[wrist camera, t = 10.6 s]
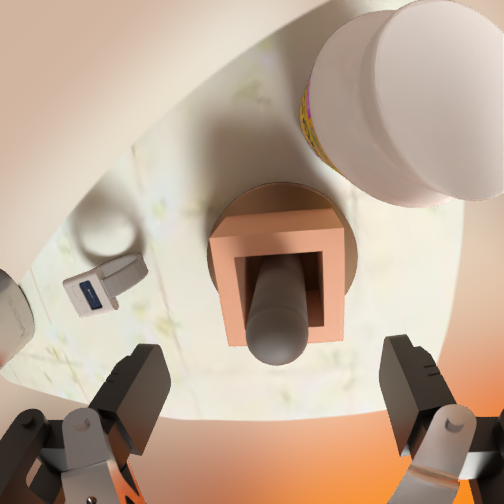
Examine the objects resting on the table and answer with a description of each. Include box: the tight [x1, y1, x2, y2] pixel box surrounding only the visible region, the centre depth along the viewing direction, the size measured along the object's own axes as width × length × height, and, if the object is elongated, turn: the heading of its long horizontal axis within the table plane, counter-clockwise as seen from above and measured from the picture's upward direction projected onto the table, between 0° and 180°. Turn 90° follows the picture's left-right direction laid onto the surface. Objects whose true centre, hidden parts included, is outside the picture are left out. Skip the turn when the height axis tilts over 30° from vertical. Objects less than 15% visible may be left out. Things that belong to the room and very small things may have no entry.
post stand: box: [207, 182, 358, 366], centre depth 15 cm, size 9×9×10 cm
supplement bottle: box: [300, 0, 504, 208], centre depth 11 cm, size 7×7×13 cm
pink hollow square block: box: [209, 208, 345, 346], centre depth 17 cm, size 6×6×4 cm
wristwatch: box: [63, 253, 148, 318], centre depth 19 cm, size 6×3×5 cm, turn 109°
